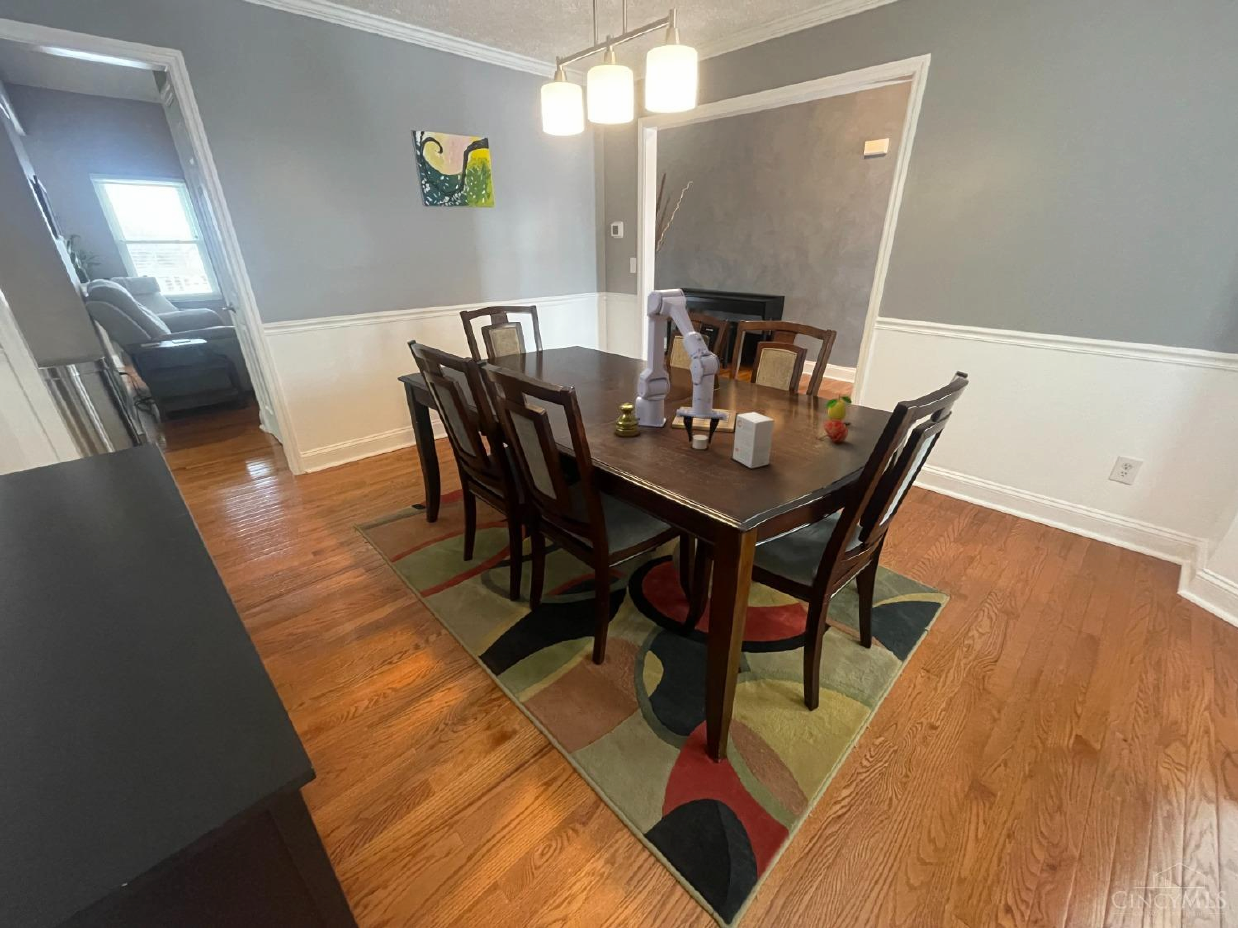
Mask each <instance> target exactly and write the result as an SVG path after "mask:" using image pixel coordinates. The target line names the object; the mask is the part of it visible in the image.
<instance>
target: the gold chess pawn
mask: <svg viewBox="0 0 1238 928" xmlns="http://www.w3.org/2000/svg"><path fill="white" fill-rule="evenodd" d="M635 406H636V405H634V404H633V403H630V402H624V403H622V404H621V405H619V407H618V408H619V409H620V410H621V411H622V414H621V415H619V417H618V418H616V419H615V424H616V425H615V434H616V435H618V436H619V437H623V438H625V437H626V438H629V437H635V436H637V435H638V434H639V433H640V431H639V430H640V429H639V428H640V427H639V426H640V425H638V424H639V420H638V419H637V418H636V417H635V415H634V414H633V413H632V412H633V411H634V410H635Z"/></svg>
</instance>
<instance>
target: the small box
mask: <svg viewBox="0 0 1238 928" xmlns="http://www.w3.org/2000/svg"><path fill="white" fill-rule="evenodd" d="M774 423H775V420H774V419H772V418H770V417H768V416H765V415H763V414H760V413H758V412H756V411H752V412H746V413H740V414H736V419H735V429H734V430H735V432H734V441H733V442H734V443H733V454H732V459H733V460H735V461H737V462H739V463H741V464H743V465H744V466H746V467H748V468H750V469H755V468H759V467H763V466H767V465H769V464H770V458H771V457H770V456H771V448H772V440H773V432H774Z"/></svg>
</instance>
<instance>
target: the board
mask: <svg viewBox="0 0 1238 928" xmlns="http://www.w3.org/2000/svg"><path fill="white" fill-rule="evenodd" d="M687 409H692V407H690V406H689V407H688V406H680V408H679V410H687ZM712 411H717V412H723V413H727V421H723V420H719V424H718V426H717V427H716V429H715V431H714V432H725V433H734V430H735V429H734V428H735V425H736V419H737V410H736V409H735V410H733V409H719V408H712ZM676 416H677V414H676V415H675V417H674V419H673V421H672V423H671V428H676V429H686V427H685V425H684V423H683V419H684V417H680V418H677V417H676ZM710 421H711V419H700V418H693V426H692V430H702V431H710Z"/></svg>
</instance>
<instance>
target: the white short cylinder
mask: <svg viewBox="0 0 1238 928" xmlns="http://www.w3.org/2000/svg"><path fill="white" fill-rule="evenodd" d="M708 439H709V436H707V435H705V434H695V435H692V442H691V444H692V445H691V446H692V448H693V449H696V450H705V449H707V448H708Z"/></svg>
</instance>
